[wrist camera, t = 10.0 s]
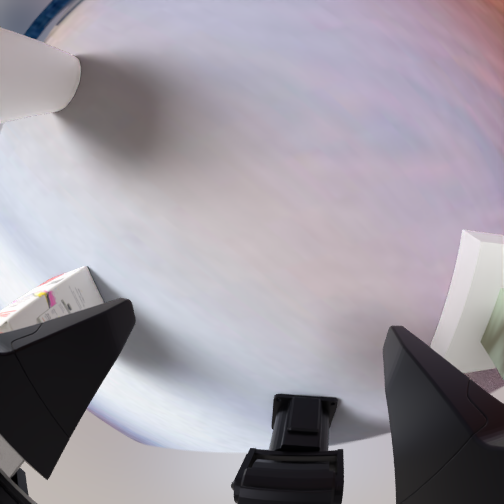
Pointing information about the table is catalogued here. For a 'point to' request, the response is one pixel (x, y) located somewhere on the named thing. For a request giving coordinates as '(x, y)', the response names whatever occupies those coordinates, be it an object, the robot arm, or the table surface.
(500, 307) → the sage cube
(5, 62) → the foam cup
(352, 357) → the table surface
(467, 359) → the white block
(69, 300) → the ink cartridge box
